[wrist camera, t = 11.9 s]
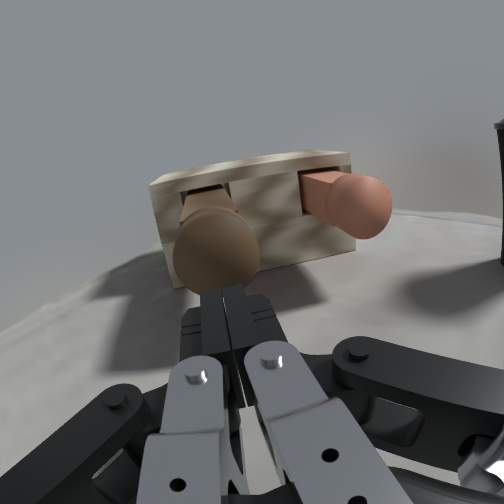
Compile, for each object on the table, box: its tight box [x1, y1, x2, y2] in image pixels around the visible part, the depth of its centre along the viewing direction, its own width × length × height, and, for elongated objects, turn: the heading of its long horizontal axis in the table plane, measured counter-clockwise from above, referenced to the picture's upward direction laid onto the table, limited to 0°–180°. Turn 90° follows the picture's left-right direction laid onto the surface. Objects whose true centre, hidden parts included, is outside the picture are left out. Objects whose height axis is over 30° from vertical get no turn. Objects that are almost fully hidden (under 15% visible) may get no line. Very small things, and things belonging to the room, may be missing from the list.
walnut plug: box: [173, 184, 260, 297], centre depth 23 cm, size 5×16×5 cm, turn 10°
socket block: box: [149, 150, 356, 289], centre depth 34 cm, size 20×12×10 cm, turn 100°
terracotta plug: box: [297, 168, 392, 239], centre depth 28 cm, size 5×16×5 cm, turn 10°
